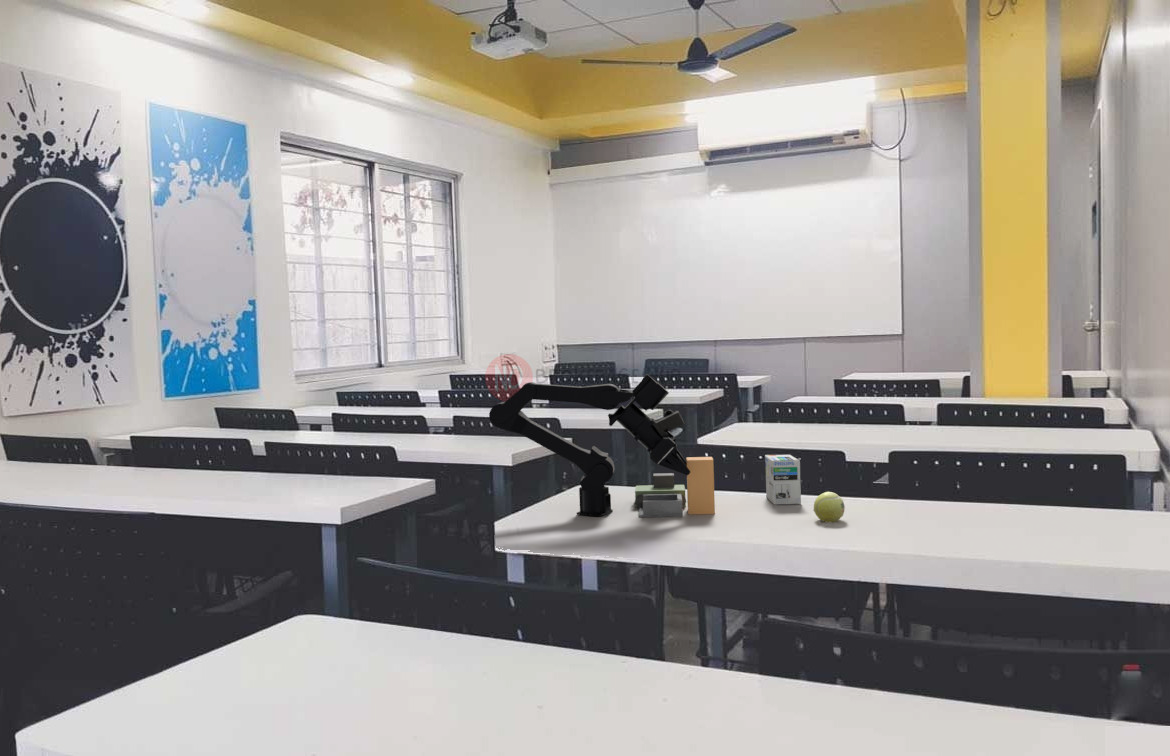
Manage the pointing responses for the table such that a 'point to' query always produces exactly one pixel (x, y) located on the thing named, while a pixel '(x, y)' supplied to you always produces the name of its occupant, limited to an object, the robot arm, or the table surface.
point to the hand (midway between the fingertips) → (688, 470)
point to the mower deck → (660, 488)
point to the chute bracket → (661, 505)
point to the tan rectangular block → (700, 485)
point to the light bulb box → (783, 479)
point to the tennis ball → (829, 507)
